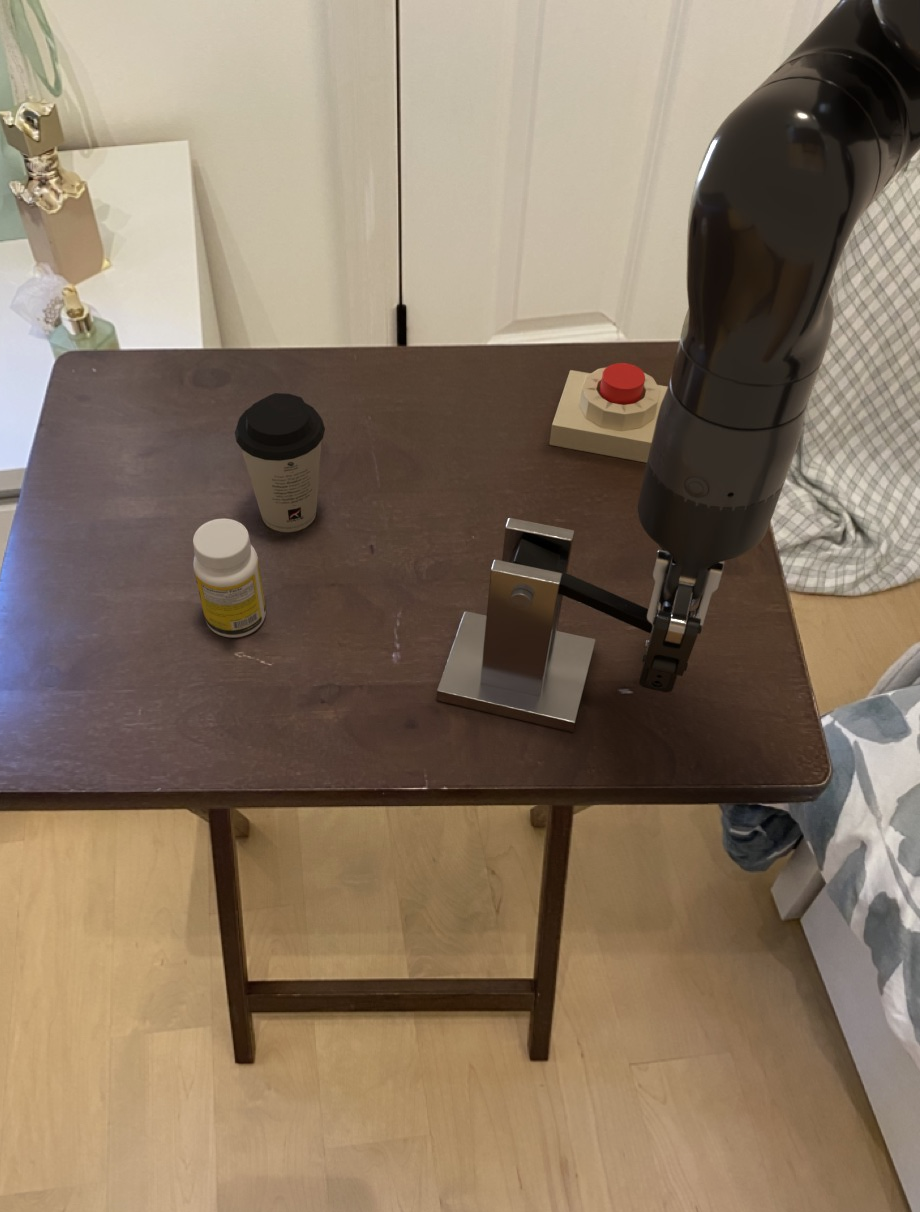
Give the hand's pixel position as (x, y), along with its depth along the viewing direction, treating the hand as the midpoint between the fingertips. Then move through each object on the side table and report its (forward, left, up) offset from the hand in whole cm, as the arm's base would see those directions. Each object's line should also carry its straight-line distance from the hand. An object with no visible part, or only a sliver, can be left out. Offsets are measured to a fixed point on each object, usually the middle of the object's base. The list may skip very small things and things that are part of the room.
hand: (661, 653), depth 73 cm
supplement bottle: (+32, 0, -6) cm, 32 cm away
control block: (+8, -30, -6) cm, 31 cm away
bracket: (+10, 0, -6) cm, 11 cm away
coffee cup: (+32, -12, -6) cm, 34 cm away
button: (+8, -30, -2) cm, 31 cm away
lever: (+6, 0, +3) cm, 6 cm away
